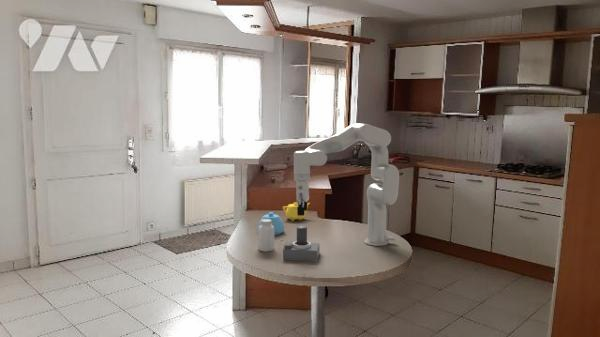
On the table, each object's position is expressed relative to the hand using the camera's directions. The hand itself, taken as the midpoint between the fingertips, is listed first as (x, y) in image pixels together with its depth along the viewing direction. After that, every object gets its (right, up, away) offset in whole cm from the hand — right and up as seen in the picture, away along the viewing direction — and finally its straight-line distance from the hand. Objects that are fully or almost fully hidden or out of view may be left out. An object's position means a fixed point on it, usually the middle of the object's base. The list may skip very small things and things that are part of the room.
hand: (302, 212), depth 220 cm
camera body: (0, -21, +3) cm, 21 cm away
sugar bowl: (-18, -16, +44) cm, 50 cm away
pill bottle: (-18, -20, +13) cm, 30 cm away
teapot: (-3, -11, +75) cm, 76 cm away
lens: (0, -16, +2) cm, 16 cm away
